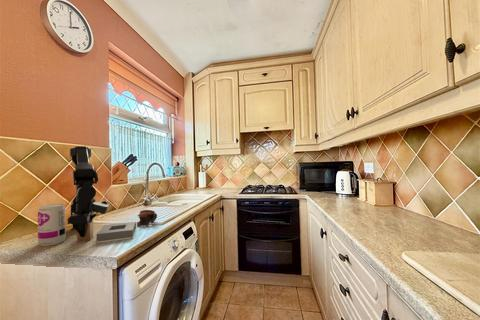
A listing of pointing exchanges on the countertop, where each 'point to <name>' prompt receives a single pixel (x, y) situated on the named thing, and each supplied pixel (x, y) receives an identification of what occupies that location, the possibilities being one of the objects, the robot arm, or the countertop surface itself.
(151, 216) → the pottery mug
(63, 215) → the supplement can
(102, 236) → the charcoal well block
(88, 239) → the wooden toy block
